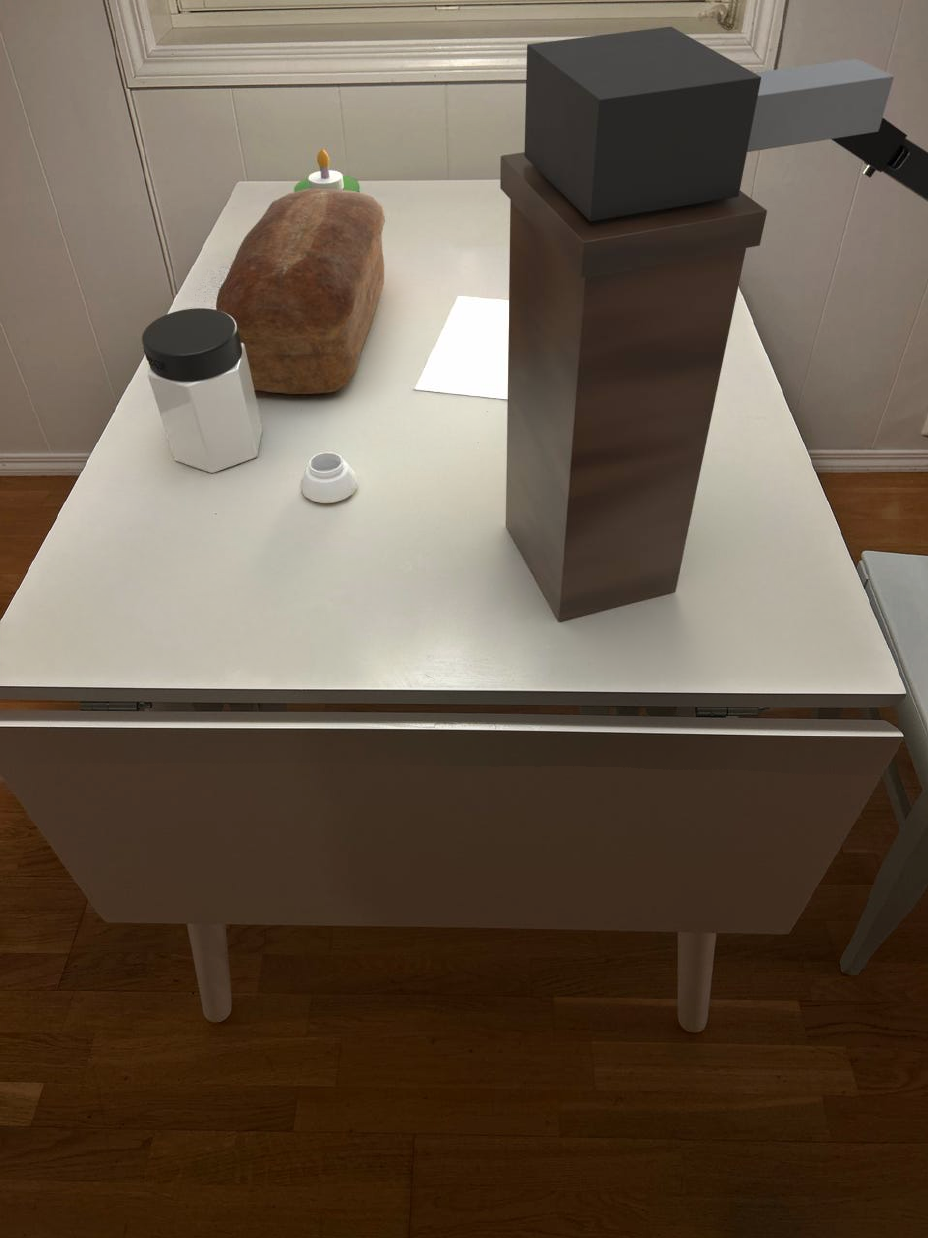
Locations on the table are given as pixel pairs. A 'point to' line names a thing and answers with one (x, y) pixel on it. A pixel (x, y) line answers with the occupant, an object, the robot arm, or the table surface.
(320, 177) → the candle
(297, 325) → the bread
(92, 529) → the table surface
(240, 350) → the jar
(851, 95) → the sledgehammer head
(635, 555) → the stand
